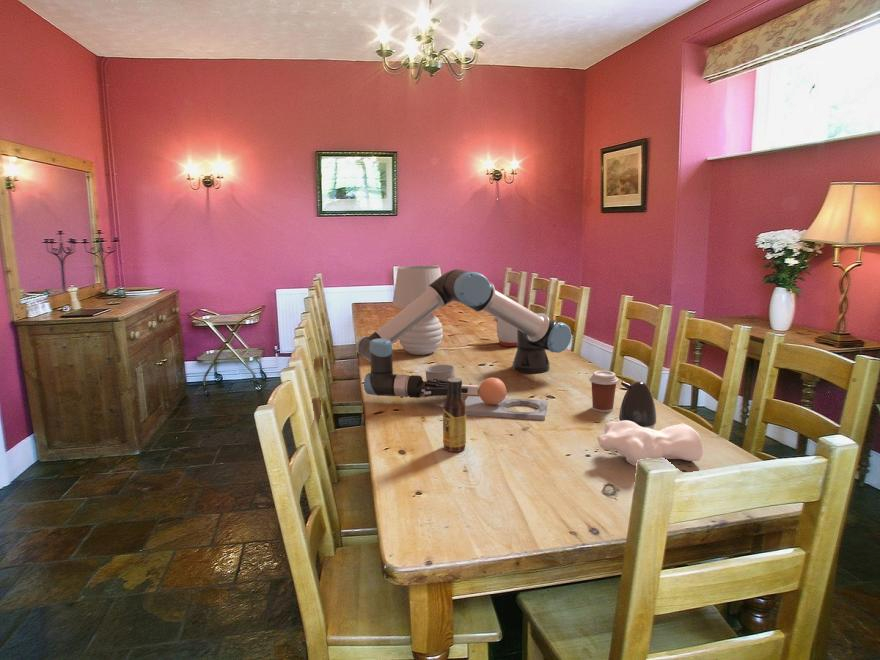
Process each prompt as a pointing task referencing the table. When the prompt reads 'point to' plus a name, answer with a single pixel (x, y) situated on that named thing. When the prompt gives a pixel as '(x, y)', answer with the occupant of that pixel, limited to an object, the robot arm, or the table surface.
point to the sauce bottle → (454, 417)
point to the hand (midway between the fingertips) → (477, 390)
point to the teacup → (440, 372)
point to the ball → (492, 391)
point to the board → (505, 408)
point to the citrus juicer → (506, 333)
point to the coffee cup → (603, 390)
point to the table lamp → (406, 291)
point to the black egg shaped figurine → (638, 405)
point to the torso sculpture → (651, 441)
